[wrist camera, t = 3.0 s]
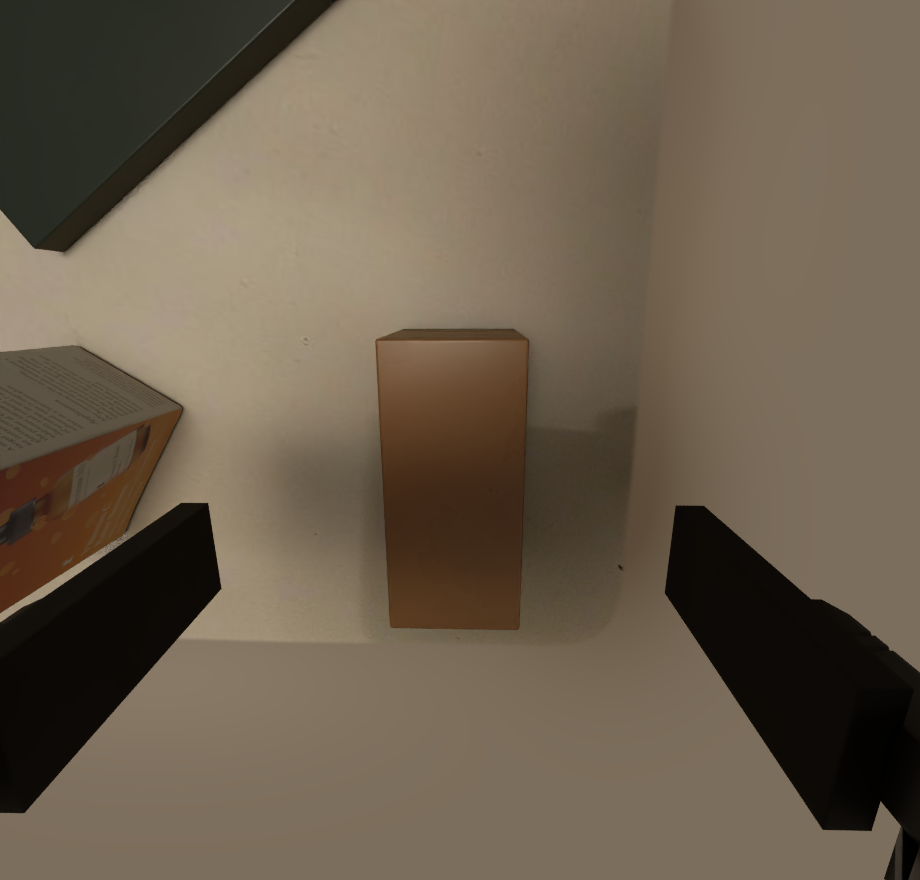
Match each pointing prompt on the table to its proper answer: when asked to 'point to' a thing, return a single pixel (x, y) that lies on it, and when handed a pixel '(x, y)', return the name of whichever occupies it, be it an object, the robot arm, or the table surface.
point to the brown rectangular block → (453, 475)
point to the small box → (69, 460)
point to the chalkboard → (116, 94)
